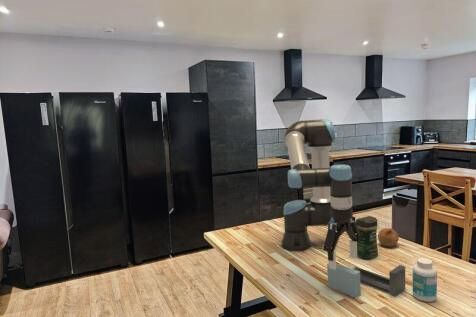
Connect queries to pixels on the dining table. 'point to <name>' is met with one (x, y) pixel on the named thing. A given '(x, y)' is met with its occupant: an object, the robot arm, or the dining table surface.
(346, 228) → the robot arm
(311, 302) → the dining table surface
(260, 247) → the dining table surface
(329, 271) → the gray rectangular block
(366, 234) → the coffee jar
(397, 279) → the floor track
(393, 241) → the onion
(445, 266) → the dining table surface
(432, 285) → the pill bottle
